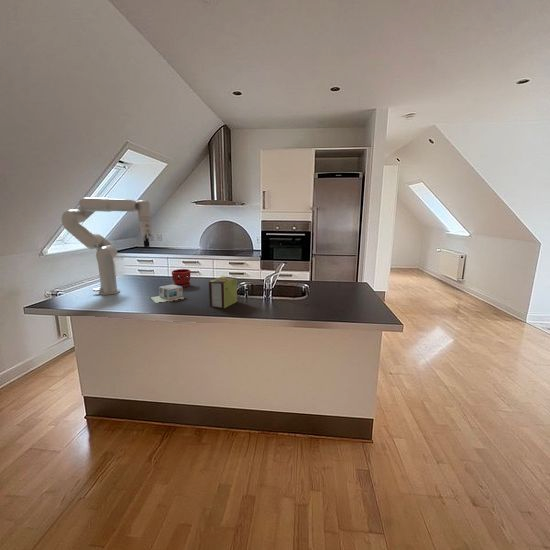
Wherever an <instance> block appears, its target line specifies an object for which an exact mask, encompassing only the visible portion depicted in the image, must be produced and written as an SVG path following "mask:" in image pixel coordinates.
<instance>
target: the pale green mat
mask: <svg viewBox="0 0 550 550" xmlns="http://www.w3.org/2000/svg"><path fill="white" fill-rule="evenodd" d="M184 298H185V297H184V296H181V297H177V298H173V299H166V298H163V297H160V296H159V295H158V296H157V295H156V296H151V297H150V299H151V300H152V301H153V302H154V303H155V304H160V303H159V302H162V303H167V302H166V301H168V302H173V300H175V301H179V300H178V299H181V300H185V299H184Z"/></svg>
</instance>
